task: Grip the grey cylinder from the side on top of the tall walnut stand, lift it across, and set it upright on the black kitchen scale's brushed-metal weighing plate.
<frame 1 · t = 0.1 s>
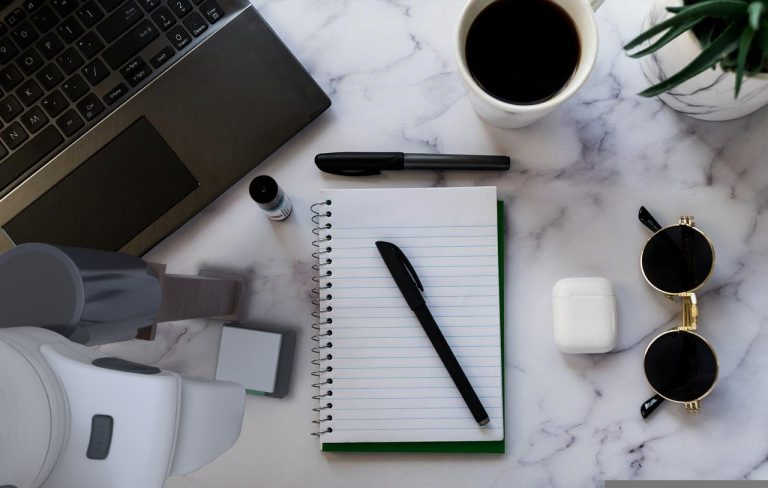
hand: (133, 378, 47), 21 cm above the table, tool pointing down, fingers open, 8 cm apart
grey cylinder: (119, 297, 46), point 22 cm above the table, touching stand
stand: (222, 295, 68), on the table
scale: (259, 358, 67), on the table
mug: (122, 398, 68), on the table
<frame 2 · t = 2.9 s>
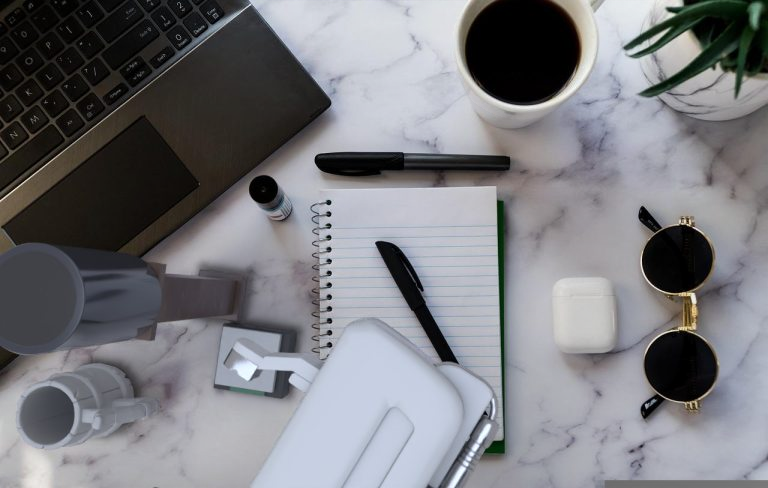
hand: (187, 425, 34), 33 cm above the table, tool horizontal, fingers open, 8 cm apart
nothing on the table moved.
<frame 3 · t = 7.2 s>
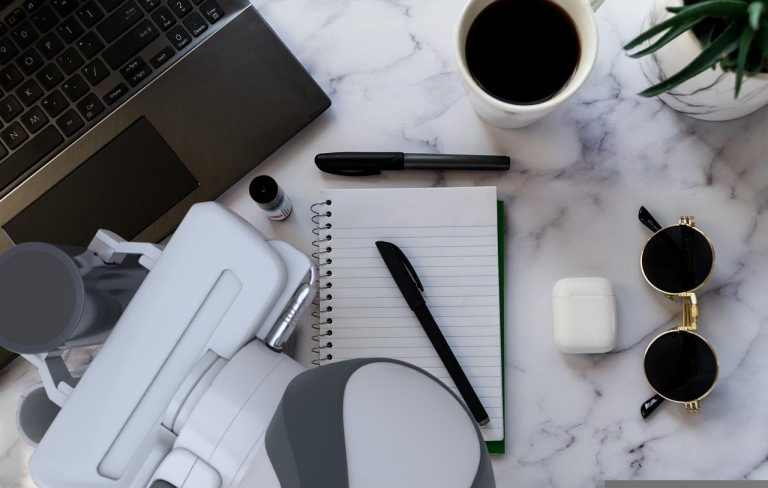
hand: (64, 290, 41), 28 cm above the table, tool horizontal, fingers closed on grey cylinder, 6 cm apart
grey cylinder: (119, 296, 46), point 22 cm above the table, touching gripper, stand
everything else where it was.
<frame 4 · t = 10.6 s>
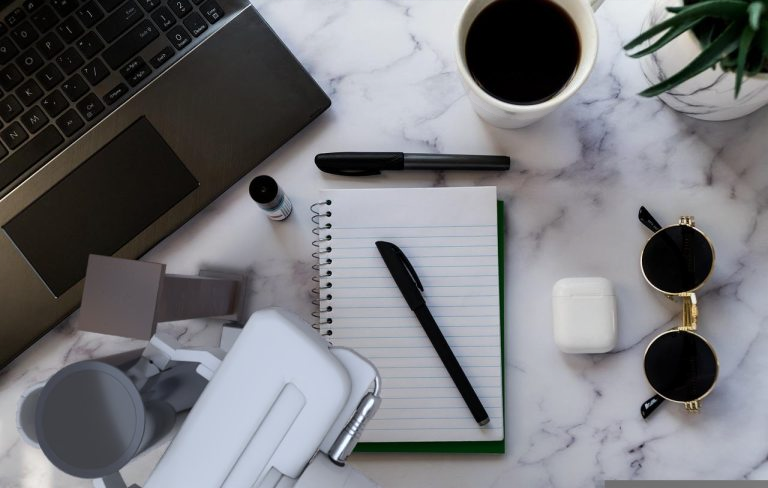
hand: (117, 396, 39), 28 cm above the table, tool horizontal, fingers closed on grey cylinder, 6 cm apart
grey cylinder: (168, 388, 45), point 23 cm above the table, touching gripper
everything else where it was.
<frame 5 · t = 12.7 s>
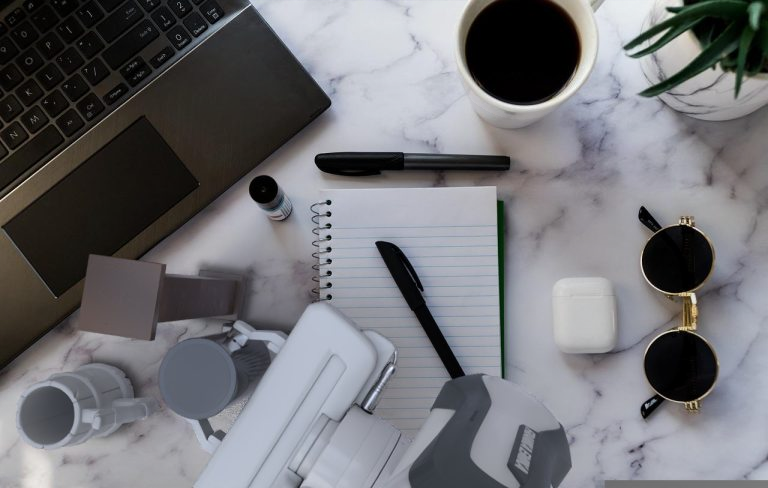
hand: (208, 366, 55), 13 cm above the table, tool horizontal, fingers closed on grey cylinder, 6 cm apart
grey cylinder: (238, 363, 60), point 7 cm above the table, touching gripper
everything else where it was.
when the fingers open (9 cm above the table, at t = 14.4 s): grey cylinder stays where it is, resting on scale.
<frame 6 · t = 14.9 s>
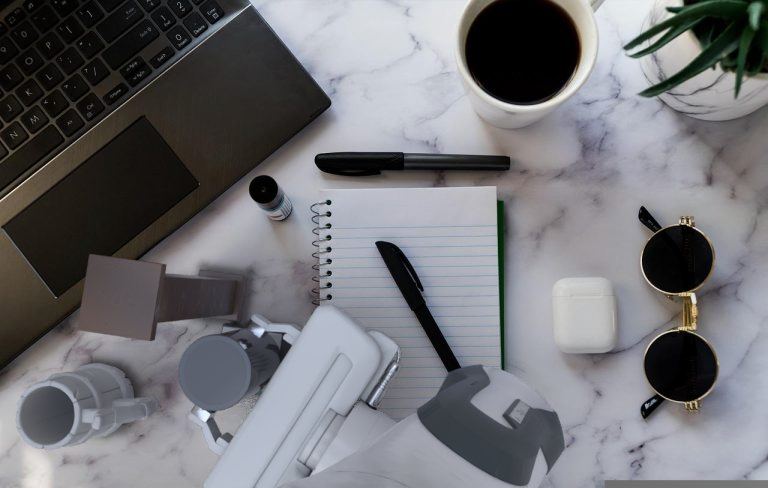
hand: (222, 364, 58), 9 cm above the table, tool horizontal, fingers open, 8 cm apart
grey cylinder: (250, 359, 64), point 3 cm above the table, touching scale
everything else where it was.
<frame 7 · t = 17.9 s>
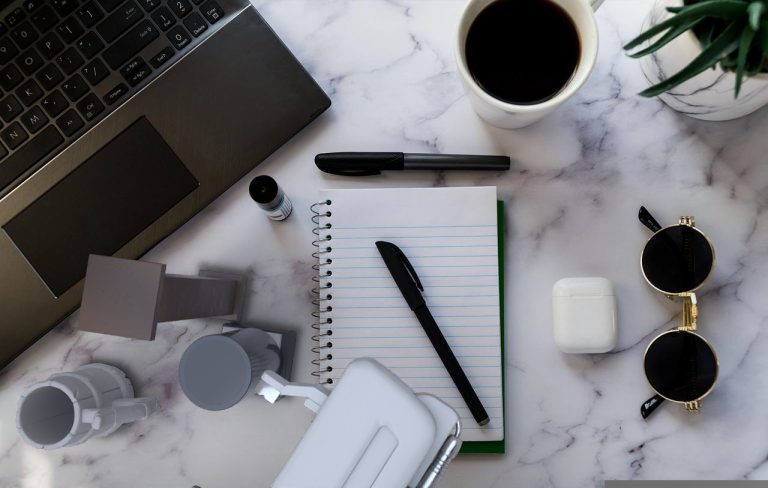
hand: (223, 437, 44), 23 cm above the table, tool horizontal, fingers open, 8 cm apart
nothing on the table moved.
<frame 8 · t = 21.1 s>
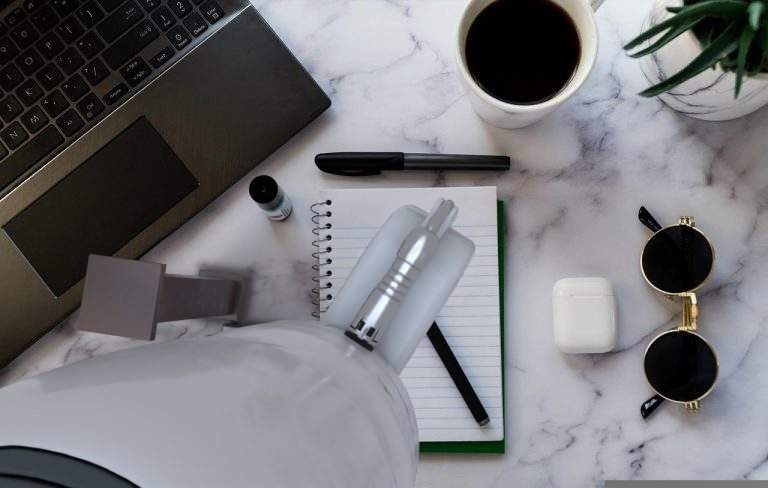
hand: (346, 389, 35), 31 cm above the table, tool pointing down, fingers open, 8 cm apart
nothing on the table moved.
at the end: grey cylinder 0.2 cm off-centre on the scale, point 3.3 cm above the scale's base; grey cylinder tilted 0°; the gripper is holding nothing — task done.
